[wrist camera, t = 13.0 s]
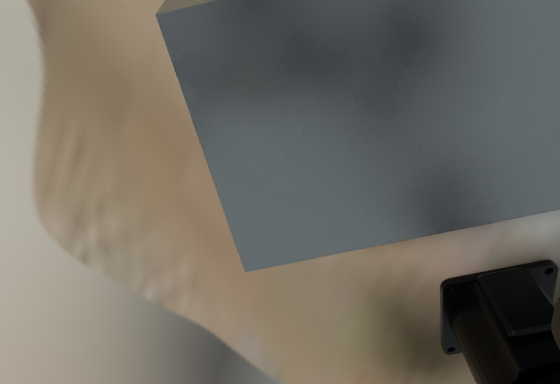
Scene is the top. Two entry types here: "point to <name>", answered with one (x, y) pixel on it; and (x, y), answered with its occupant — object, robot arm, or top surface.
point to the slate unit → (369, 116)
